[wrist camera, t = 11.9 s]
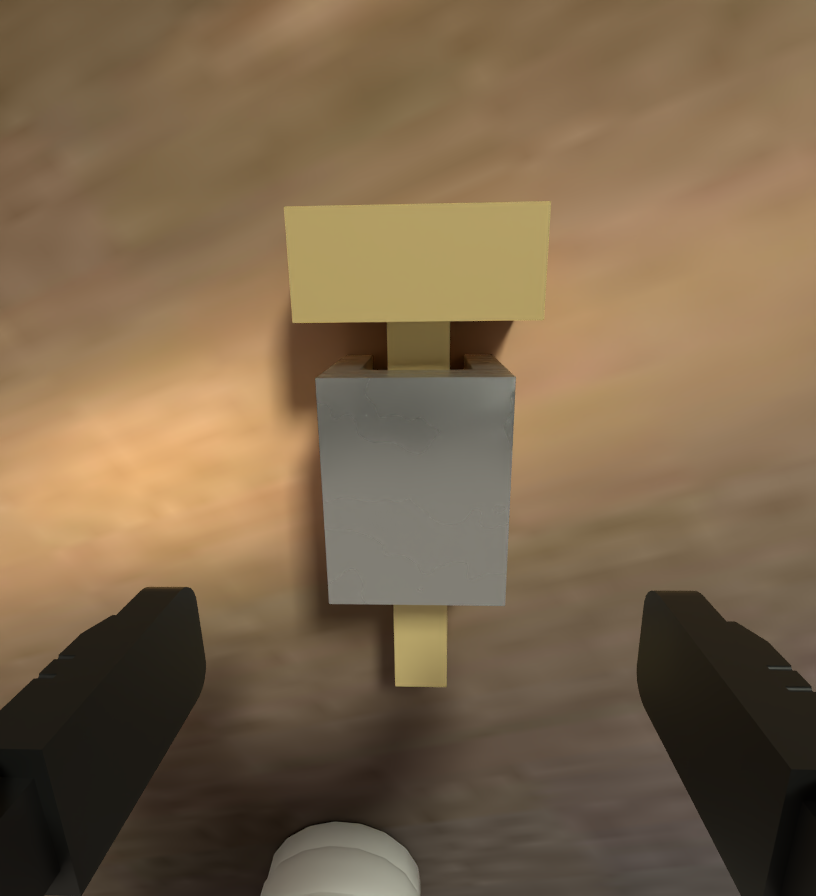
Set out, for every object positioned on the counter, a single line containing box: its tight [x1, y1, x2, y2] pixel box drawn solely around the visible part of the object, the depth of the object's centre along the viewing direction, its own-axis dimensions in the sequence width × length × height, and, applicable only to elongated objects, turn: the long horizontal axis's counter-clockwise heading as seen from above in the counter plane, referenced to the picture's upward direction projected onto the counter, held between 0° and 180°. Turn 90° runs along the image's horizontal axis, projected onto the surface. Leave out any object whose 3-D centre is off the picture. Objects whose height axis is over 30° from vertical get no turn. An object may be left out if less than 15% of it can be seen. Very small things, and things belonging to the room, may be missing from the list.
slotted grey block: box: [315, 354, 516, 606], centre depth 18 cm, size 5×7×6 cm
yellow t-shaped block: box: [284, 201, 551, 687], centre depth 18 cm, size 7×17×4 cm, turn 1°
